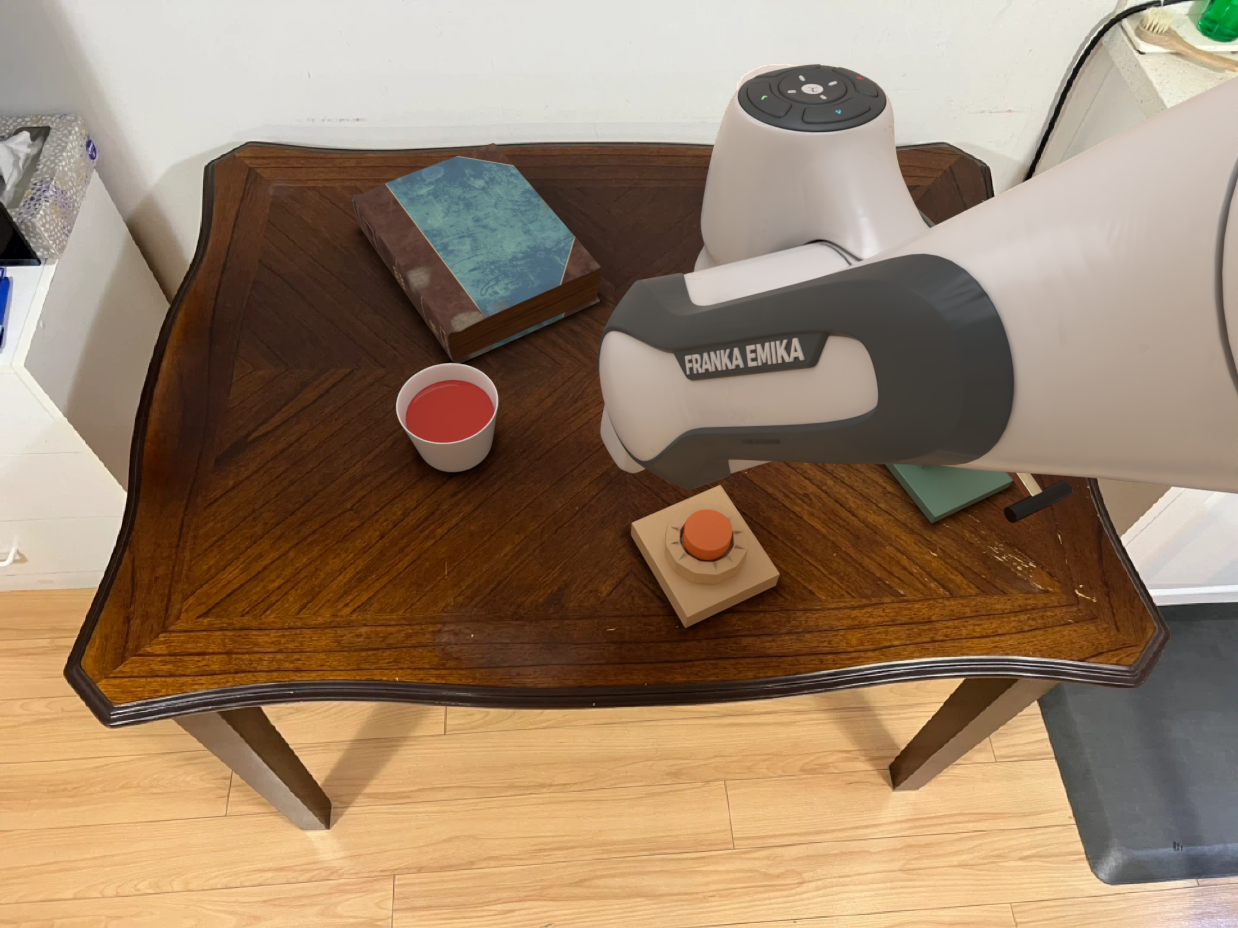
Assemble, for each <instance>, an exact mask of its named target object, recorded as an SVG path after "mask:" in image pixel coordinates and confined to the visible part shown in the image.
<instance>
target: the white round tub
mask: <svg viewBox="0 0 1238 928" xmlns="http://www.w3.org/2000/svg"><path fill="white" fill-rule="evenodd" d="M498 409H499V393H498V391H497V387H496V386H495V384H494V382H493V381H492V379H490V378H489V376H488V375H486V374H485V373H484V372H483V371H481V370H479V369H478V368H476V367H473V366H470V365H467V364H462V363H461V364H455V363H453V362H449V363H440V364H439V363H438V364H436V365H432V366H429V367H426V368H424V369H422V370H420V371H418V372H417V373H415V374H414V375H412V376H411V377H410V378H409V379H408V380H406V382H405V383H404V384H403V385H402V387H401V389H400V391H399V392H398V395H397V397H396V404H395V411H396V415H397V420H398V421H399V423H400V426H402V428H403V430H404V432H405V433H406V435H407V437H408V438H409V439H410V441H411V443H412V444H413V446H414V447H415V449H416V450H417V452H418V453H419V455H420V456H421V458H422V459H423V460H424V462H425V463H427V464H428V465H429V466H431V467H432V468H434V469H436V470H438V471H441V472H446V473H459V472H464V471H467V470H470V469H472V468H474V467H476V466H477V465H479V464H480V463H482V462H483V460H485V458H486V457H487V456H488V455H489V453H490V451H491V449H492V444H493V441H494V435H495V430H496V429H495V428H496V423H497V422H496V421H497V415H498Z"/></svg>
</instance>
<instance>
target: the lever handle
mask: <svg viewBox="0 0 1238 928" xmlns="http://www.w3.org/2000/svg"><path fill="white" fill-rule="evenodd" d="M1007 474H1008V475H1009V476H1010V477H1011V478H1012V480H1013V481H1012V482H1013V483H1014V484H1015V485H1016V487H1017V489H1018V490H1019V492H1020V493H1021V494H1022V496H1023V498H1022V499H1019V500H1018V501H1016V502H1013V503H1011V504H1009V505H1007V506H1005V507H1004V509H1003V515H1004V517H1005V519H1006V520H1007V522H1009V523H1010V524H1015V523H1018V522H1020V521H1021V520H1024V519H1026V518H1028V517H1030V516H1032V515H1035V514H1036V513H1038V512H1040V511H1042V510H1044V509H1046V508H1048V507H1050V506H1052V505H1054V504H1056V503H1058V502H1060V501H1062V500H1065V499H1067V498H1069V497H1071V496H1073V495H1072V494H1073V487H1072V485H1071V484H1070V483H1069V482H1068V481H1067V480H1065V479H1064V480H1063V479H1062V480H1059V481H1057V482H1055V483H1053V484H1050V485H1048V486H1047V487H1044V488H1041V487H1040V485H1039V484H1038V483H1037V481H1036V480H1035V478H1034V477H1033V474H1031V473H1014V472H1007Z"/></svg>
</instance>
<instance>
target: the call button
mask: <svg viewBox="0 0 1238 928" xmlns="http://www.w3.org/2000/svg"><path fill="white" fill-rule="evenodd" d="M705 509H709V510H715V511H717V512H720V513H721V514H723V515H724V516H725V517H726V518H727V519H728V520H729V522H730V524H731V526H732V538H731V542H730V546H729V548H728V550H727V552H726V553H725V554H724V555H723V556H721V557H720V558H718V559H715V560H701V559H698V558H696V557H694V556H692V555H691V554H690V553H689V552H688V551H687V549H686V548H685V546H684V543H683V533H684V527H685V523H686V521H687V519H688V518H689V516H691V515H692V514H693V513H695V512H697V511H699V510H705ZM630 536H631V538H632V539H633V541H634V543H635V545H636V547H637V548H638V550H639V552H640V553H641V555H642V557H643V558H644V560H645V562H646V564H647V565H648V567H649V569H650V571H651V572H652V574H653V576H654V577H655V579H656V580H657V582H658V584H659V586H660V588H661V589H662V591H663V593H664V594H665V596H666V597H667V599H668V602H669V603H670V605H671V606H672V608H673V609H674V611H675V613H676V615H677V617H678V619H679V620H680V622H681V623H682V625H683V627H684V629H687V628H688V627H690V626H693V625H695V624H697V623H699V622H702V621H703V620H706V619H708V618H710V617H712V616H714V615H716V614H719V613H720V612H723V611H725V610H727V609H729V608H731V607H733V606H735V605H737V604H739V603H742V602H744V601H746V600H748V599H750V598H753V597H754V596H757V595H759V594H761V593H763V592H765V591H767V590H769V589H771V588H773V587H776V585H777V583H778V581H779V577H780V574H781V573H780V572H779V570H778V569H777V567H776V566H775V564H774V563H773V561H772V560H771V558H770V556H769V555H768V554H767V552H766V551H765V550H764V548H763V546H762V545H761V543H760V541H759V540H758V539H757V537H756V536H755V534H754V533H753V532H752V530H751V528H750V527H749V526H748V524H747V522H746V521H745V519H744V518H743V516H742V515H741V513H740V512H739V511H738V509H737V508H736V506H735V504H734V503H733V501H732V500H731V498H730V497H729V495H728V494H727V492H726V491H725V490H724V488H723V486H722V485H721V484H719V485H717V486H715V487H714V486H713V487H712V488H710V489H707V490H704V491H703V492H700V493H698V494H695V495H693V496H690V497H688V498H686V499H684V500H682V501H679V502H676V503H674V504H672V505H670V506H667V507H665V508H663V509H661V510H658V511H656V512H654V513H651V514H649V515H647V516H644V517H642V518H640V519H638V520H635V521H633V522H631V528H630Z"/></svg>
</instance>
